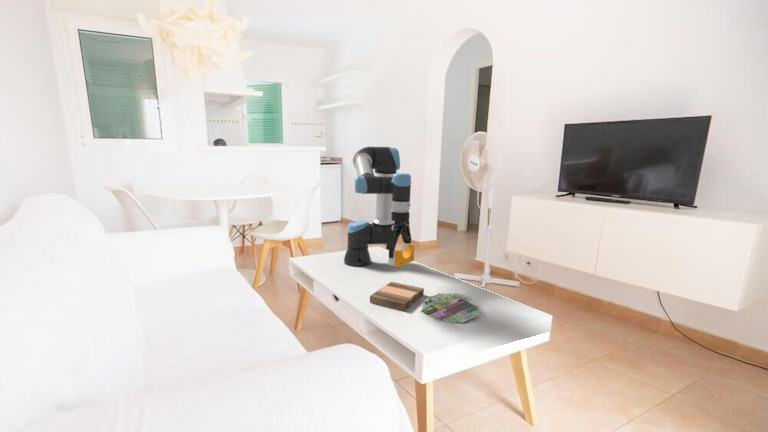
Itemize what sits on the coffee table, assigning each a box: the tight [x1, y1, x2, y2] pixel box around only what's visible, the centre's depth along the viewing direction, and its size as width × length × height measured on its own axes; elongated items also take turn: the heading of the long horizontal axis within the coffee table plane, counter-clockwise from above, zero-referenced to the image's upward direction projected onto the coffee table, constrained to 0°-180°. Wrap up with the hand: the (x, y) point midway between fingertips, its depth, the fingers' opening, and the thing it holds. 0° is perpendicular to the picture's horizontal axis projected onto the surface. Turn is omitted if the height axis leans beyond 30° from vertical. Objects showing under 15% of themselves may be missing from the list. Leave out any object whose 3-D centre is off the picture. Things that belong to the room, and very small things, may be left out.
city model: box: [420, 292, 481, 325], centre depth 149 cm, size 25×24×6 cm
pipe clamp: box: [394, 245, 415, 268], centre depth 156 cm, size 12×4×6 cm, turn 146°
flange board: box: [369, 281, 425, 312], centre depth 160 cm, size 20×16×3 cm
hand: (398, 261), depth 157 cm, fingers closed on pipe clamp, 12 cm apart
